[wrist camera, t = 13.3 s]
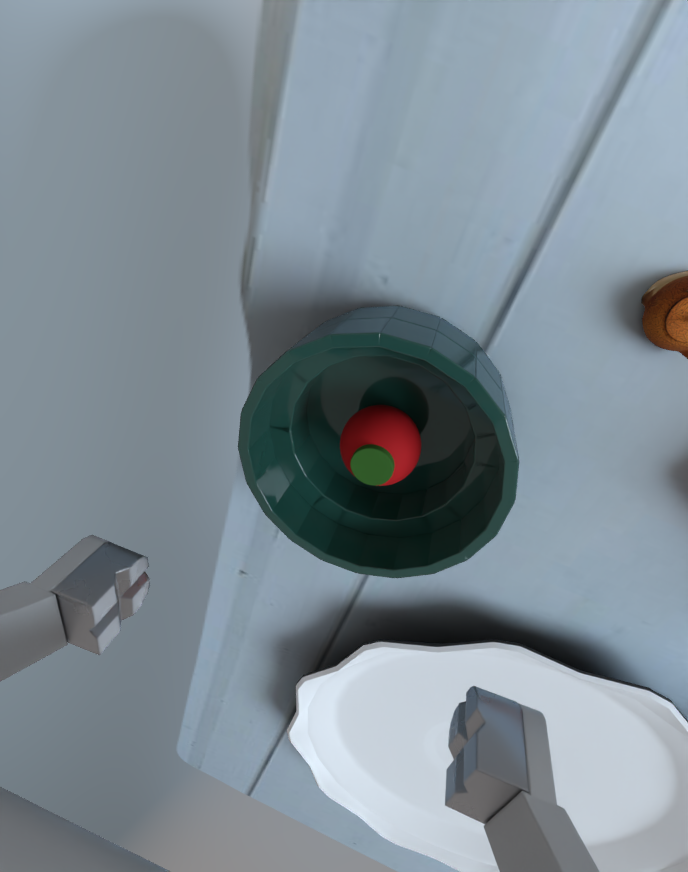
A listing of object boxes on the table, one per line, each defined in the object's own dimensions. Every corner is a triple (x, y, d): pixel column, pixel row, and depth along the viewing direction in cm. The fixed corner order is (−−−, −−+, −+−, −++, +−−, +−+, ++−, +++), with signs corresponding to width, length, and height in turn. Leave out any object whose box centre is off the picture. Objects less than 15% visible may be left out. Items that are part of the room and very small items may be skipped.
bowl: (301, 274, 19) (250, 295, 15) (552, 344, 17) (576, 389, 13) (272, 471, 24) (230, 527, 20) (460, 535, 23) (456, 610, 19)
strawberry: (360, 382, 20) (338, 416, 17) (435, 405, 19) (427, 444, 16) (344, 446, 22) (322, 487, 19) (412, 468, 21) (401, 514, 18)
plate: (515, 533, 22) (518, 566, 20) (845, 837, 26) (876, 891, 24) (236, 692, 37) (222, 720, 35) (471, 869, 41) (471, 904, 39)
